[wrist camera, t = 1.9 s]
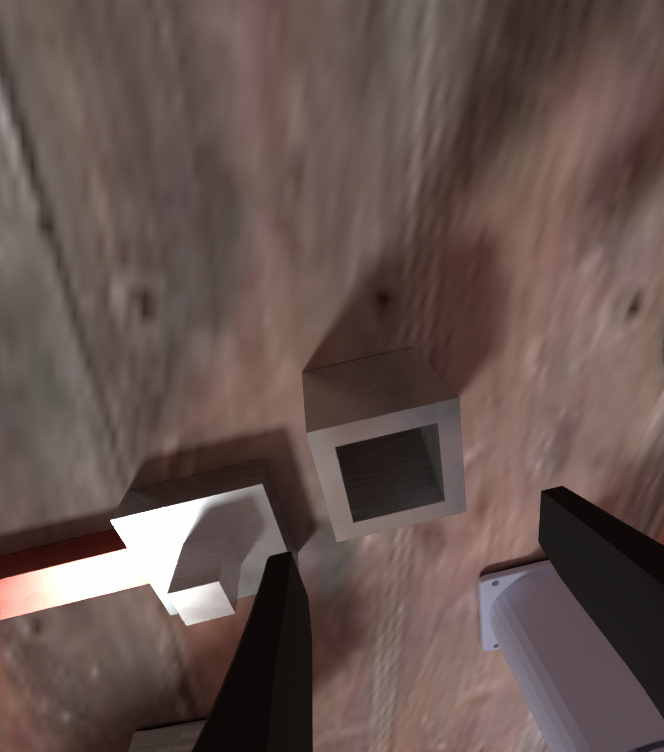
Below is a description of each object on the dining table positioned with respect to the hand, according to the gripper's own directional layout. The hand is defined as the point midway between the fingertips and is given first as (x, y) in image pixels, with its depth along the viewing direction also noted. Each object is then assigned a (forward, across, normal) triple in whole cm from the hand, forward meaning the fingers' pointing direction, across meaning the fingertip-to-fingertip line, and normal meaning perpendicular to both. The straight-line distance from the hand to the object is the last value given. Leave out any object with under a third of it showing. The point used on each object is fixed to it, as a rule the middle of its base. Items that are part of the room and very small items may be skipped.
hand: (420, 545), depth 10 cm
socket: (+8, 0, 0) cm, 8 cm away
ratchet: (+8, +15, +5) cm, 18 cm away
